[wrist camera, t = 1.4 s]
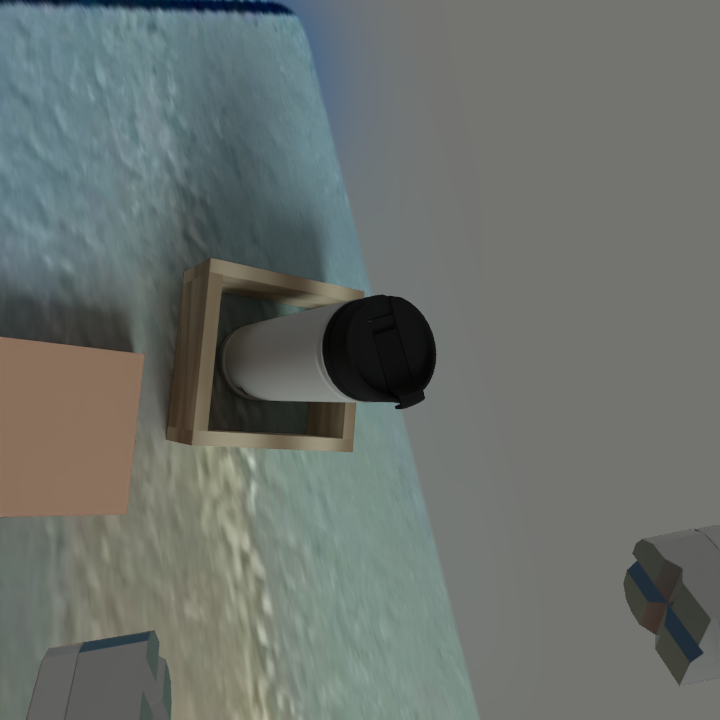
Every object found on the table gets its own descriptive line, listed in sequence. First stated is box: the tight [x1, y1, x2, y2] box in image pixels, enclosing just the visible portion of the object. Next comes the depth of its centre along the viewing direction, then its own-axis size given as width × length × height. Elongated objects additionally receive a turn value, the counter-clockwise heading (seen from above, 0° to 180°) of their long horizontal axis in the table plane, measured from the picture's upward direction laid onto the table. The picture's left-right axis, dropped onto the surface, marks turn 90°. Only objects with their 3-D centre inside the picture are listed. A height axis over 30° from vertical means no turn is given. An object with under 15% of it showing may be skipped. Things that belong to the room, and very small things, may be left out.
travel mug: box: [218, 295, 436, 409], centre depth 42 cm, size 6×7×20 cm
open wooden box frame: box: [166, 258, 364, 452], centre depth 47 cm, size 13×13×6 cm
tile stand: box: [0, 337, 145, 517], centre depth 40 cm, size 11×11×3 cm
